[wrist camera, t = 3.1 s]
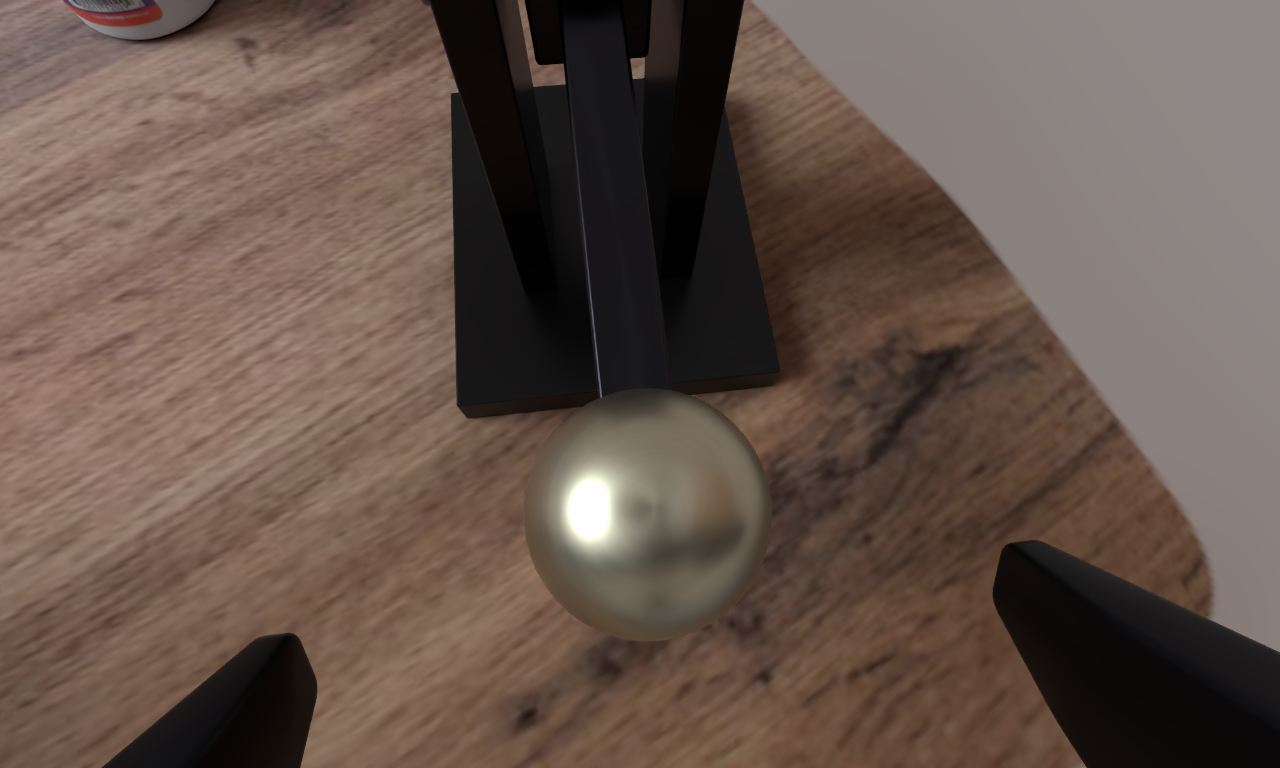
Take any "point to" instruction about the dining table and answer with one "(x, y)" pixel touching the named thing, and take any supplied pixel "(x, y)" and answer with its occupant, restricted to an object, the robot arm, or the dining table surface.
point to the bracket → (550, 224)
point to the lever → (633, 386)
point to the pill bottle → (138, 16)
